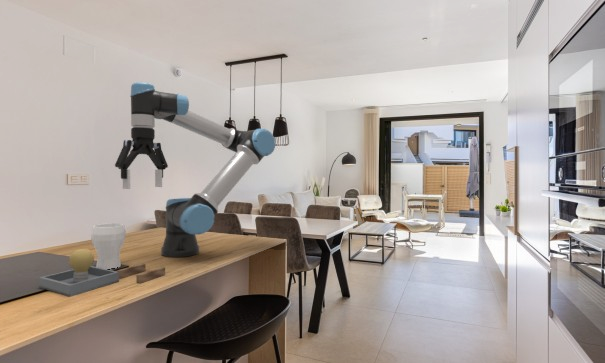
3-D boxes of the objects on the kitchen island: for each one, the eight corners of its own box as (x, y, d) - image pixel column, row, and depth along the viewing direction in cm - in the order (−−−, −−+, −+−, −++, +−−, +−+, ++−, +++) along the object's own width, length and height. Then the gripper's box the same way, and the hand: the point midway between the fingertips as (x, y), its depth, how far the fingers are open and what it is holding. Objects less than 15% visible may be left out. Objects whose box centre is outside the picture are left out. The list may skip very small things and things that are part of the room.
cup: (83, 269, 118) (84, 225, 118) (111, 261, 128) (111, 222, 128) (105, 273, 114) (105, 228, 114) (132, 265, 124) (132, 224, 124)
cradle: (143, 270, 118) (143, 263, 118) (165, 275, 114) (165, 267, 114) (116, 278, 109) (116, 270, 109) (139, 283, 105) (139, 275, 105)
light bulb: (93, 283, 102) (95, 249, 102) (67, 286, 98) (69, 251, 98) (92, 278, 107) (94, 246, 107) (67, 280, 103) (69, 247, 104)
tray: (89, 274, 112) (89, 265, 112) (118, 281, 106) (118, 272, 106) (39, 287, 99) (39, 277, 99) (69, 296, 93) (69, 285, 93)
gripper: (162, 131, 134) (163, 186, 134) (102, 123, 111) (103, 189, 112) (177, 131, 130) (177, 186, 131) (118, 122, 108) (118, 190, 108)
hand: (143, 187), depth 121 cm, fingers open, 13 cm apart
